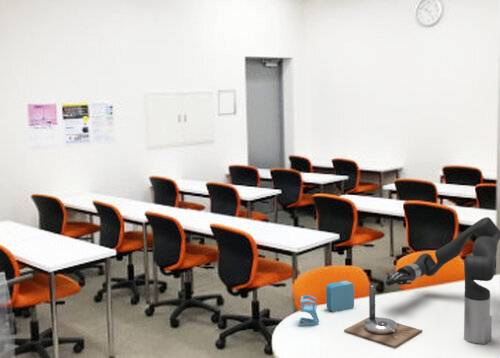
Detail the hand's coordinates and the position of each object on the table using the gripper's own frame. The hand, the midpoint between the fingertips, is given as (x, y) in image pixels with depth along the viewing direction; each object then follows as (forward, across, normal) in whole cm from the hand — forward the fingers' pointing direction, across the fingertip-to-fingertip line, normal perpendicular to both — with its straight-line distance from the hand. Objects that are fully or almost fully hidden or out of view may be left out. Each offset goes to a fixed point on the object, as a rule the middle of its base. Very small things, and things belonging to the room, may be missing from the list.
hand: (387, 283), depth 252 cm
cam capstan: (+16, -8, -13) cm, 22 cm away
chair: (+28, +21, -15) cm, 38 cm away
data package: (+6, +21, -15) cm, 27 cm away
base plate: (+16, -8, -15) cm, 23 cm away
